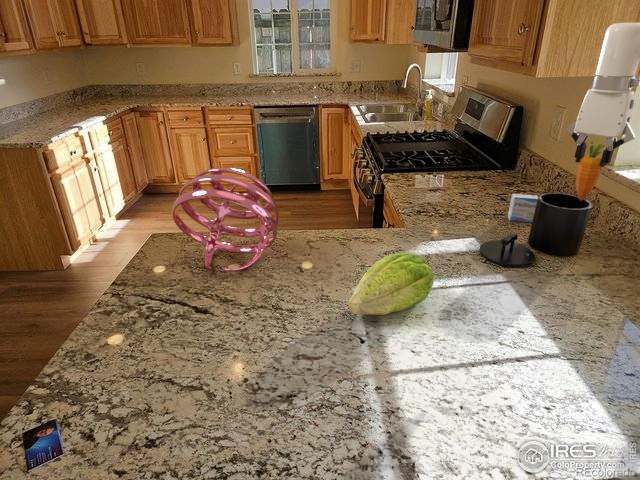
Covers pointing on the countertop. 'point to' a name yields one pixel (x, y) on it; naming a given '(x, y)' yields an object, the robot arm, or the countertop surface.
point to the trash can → (559, 224)
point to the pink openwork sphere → (228, 213)
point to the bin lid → (507, 252)
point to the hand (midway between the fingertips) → (591, 162)
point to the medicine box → (522, 208)
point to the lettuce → (392, 285)
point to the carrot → (588, 171)
